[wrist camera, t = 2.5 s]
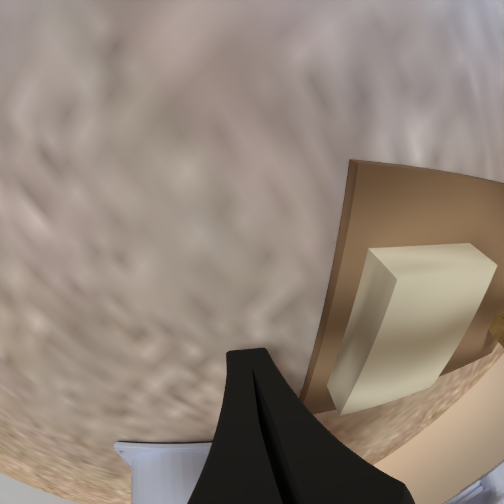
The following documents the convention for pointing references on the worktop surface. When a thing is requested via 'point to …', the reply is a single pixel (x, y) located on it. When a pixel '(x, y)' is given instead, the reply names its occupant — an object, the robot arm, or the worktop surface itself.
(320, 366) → the bench board
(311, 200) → the worktop surface
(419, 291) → the ivory block
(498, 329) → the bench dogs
